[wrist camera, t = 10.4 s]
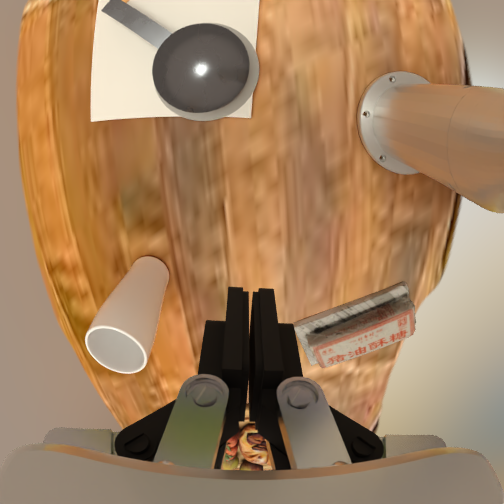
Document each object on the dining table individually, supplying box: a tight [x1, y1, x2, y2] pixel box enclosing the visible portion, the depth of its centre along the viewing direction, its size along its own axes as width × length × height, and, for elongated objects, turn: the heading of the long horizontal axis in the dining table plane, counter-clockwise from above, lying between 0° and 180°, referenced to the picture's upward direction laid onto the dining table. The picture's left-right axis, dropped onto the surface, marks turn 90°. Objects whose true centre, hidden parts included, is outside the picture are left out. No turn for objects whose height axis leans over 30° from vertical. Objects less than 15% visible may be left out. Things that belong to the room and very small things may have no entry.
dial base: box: [91, 0, 259, 122], centre depth 26 cm, size 18×18×2 cm
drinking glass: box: [85, 256, 169, 374], centre depth 33 cm, size 7×7×15 cm
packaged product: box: [294, 282, 416, 368], centre depth 43 cm, size 18×5×10 cm
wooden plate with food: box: [222, 404, 272, 471], centre depth 58 cm, size 32×32×8 cm
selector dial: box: [101, 0, 250, 113], centre depth 24 cm, size 18×9×3 cm, turn 47°
